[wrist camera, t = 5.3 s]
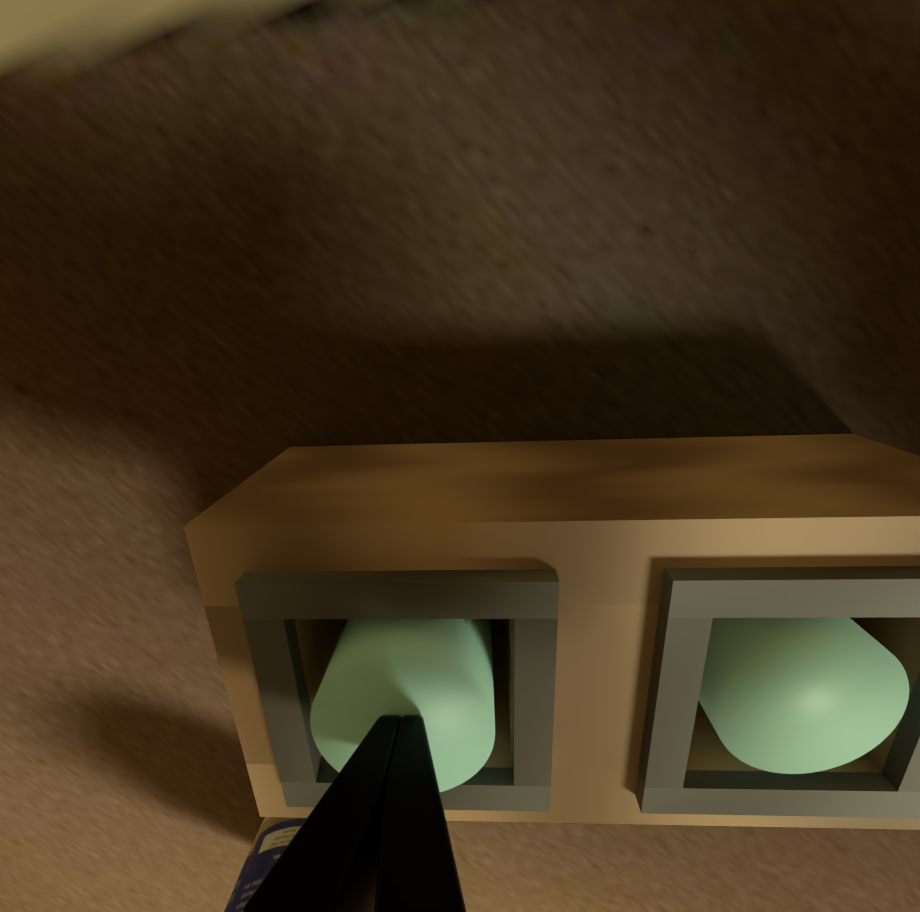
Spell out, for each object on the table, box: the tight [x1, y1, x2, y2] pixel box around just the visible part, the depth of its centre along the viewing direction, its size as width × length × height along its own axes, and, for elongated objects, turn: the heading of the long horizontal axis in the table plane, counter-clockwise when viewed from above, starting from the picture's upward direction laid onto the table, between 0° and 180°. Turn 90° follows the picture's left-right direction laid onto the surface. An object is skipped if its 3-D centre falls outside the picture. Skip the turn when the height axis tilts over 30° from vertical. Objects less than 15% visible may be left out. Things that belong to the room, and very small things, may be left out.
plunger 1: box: [310, 619, 495, 792], centre depth 11 cm, size 4×4×5 cm
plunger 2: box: [698, 618, 909, 774], centre depth 11 cm, size 4×4×5 cm
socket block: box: [183, 434, 920, 830], centre depth 11 cm, size 16×8×5 cm, turn 92°
